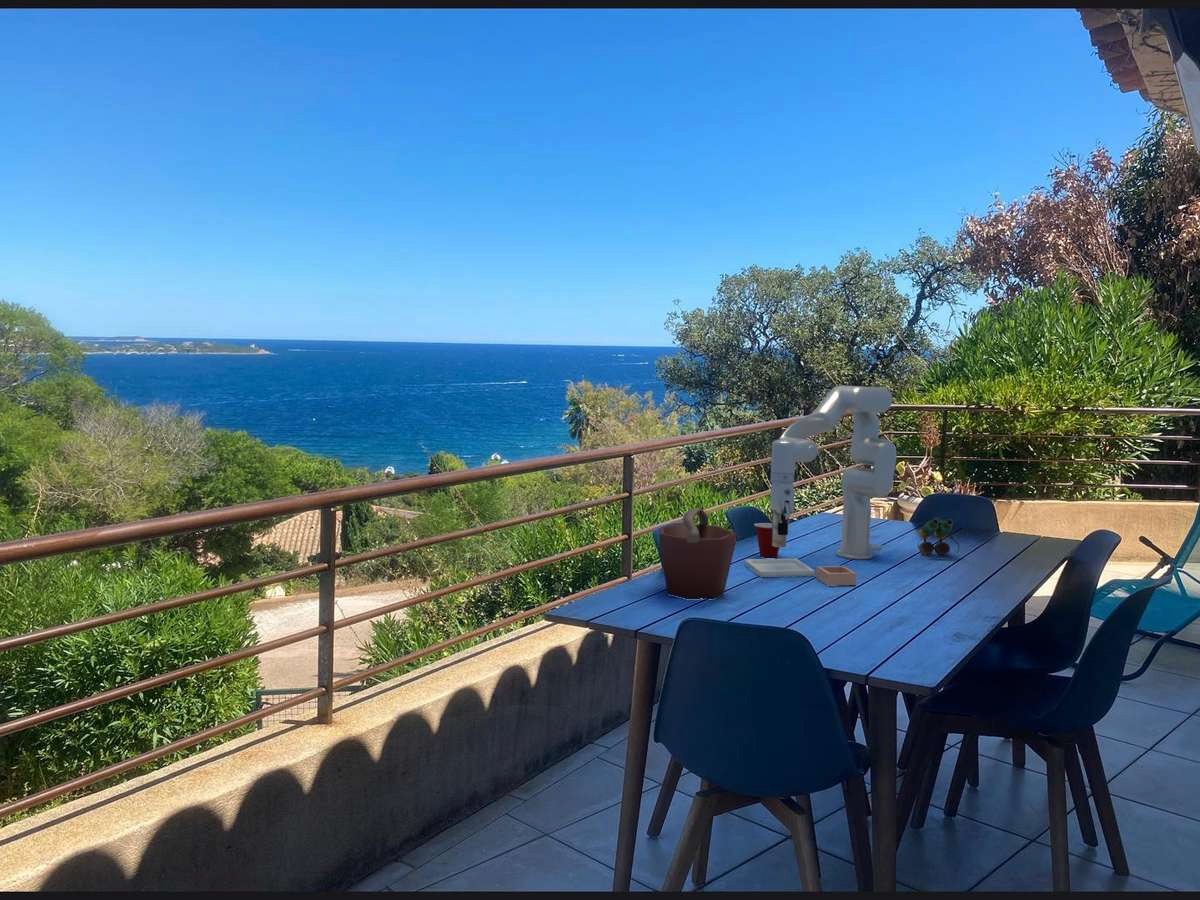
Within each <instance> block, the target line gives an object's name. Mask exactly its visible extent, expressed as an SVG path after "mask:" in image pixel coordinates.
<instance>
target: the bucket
mask: <svg viewBox="0 0 1200 900" xmlns="http://www.w3.org/2000/svg"><path fill="white" fill-rule="evenodd" d="M696 516H697V517H698V521H699V522H698V523H699V524H697V523H695V517H696ZM682 521H683V523H680V524H673V525H672V524H671V525H663V526H660V530H659V548H660V549H659V550H660V556H661V557H660V558H661V562H662V568H663V574H664V580H665V587H666V594H667V595H668V594H670V595H674V596H678V597H682V598H685V599H700V598H703V599H705V598H706V599H714V598H716V597H718V596H720V595H722V594H723V593H724V594H725V590H726V586H727V581H728V577H729V574H730V573H729V572H730V568H731V565H732V561H733V557H734V556H733V555H734V551H735V548H736V544H737V543H736V542H737V541H736V540H737V532H735V531H732V530H730V529H727V528H725V527H723V526H721V525H713V524H712V525H710V524H709V517H708V514H707V513H706V512H705V511H704V509H702V508H689V509H688V510H686V512H685V513H684V514H683V517H682ZM724 594H723V595H724ZM723 595H722V596H723ZM720 597H721V596H720ZM718 598H719V597H718ZM716 599H717V598H716Z"/></svg>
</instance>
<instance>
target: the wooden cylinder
mask: <svg viewBox="0 0 1200 900" xmlns="http://www.w3.org/2000/svg"><path fill="white" fill-rule="evenodd" d="M782 513H785V511H782ZM772 516H773V519H772V522H773V537H772V546H774V547H779V548H785V547H786V546H787V535H778V523H780V522H779V513H777V512H776V510H774V513H772ZM783 516H785V515H782V517H783Z"/></svg>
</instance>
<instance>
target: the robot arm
mask: <svg viewBox="0 0 1200 900" xmlns="http://www.w3.org/2000/svg"><path fill="white" fill-rule="evenodd" d="M892 403H893V396H892V393H891V392H890V391H889V390H888V389H887V388H886V387H885V388H884V387H875V386H874V387H873V386H862V385H861V386H860V385H858V386H857V385H836V386H834V387H832V388H831V389H830V390H829V392H828V393H827V394H826V395H825V397H824V398H823V399H822V401H821V402H820V403H819V405H818V406H817V407H816V408H815V409H814V410H813V412H811V413H810V414H808V415H806V416H804V417H802V418H800V419H799V420H797V421H795V422H794V423H792V424H790V426H788V427H787V428H786V430H785V431H784V432H783V433H782V434H781V436H779V438H778V439H776V440H773V442H772V444H771V459H770V461H771V464H770V465H771V466H770V483H771V488H770V499H769V500H770V501H769V503H770V504H769V505H770V506H769V507H770V509H771V511H772V512H771V513H772V514H773V513H774V510H776V512H777V513H779V522H780V523H778V535H786V536H788V535H789V521H790V520H789V519H790V518H791V515H793V514H794V512H795V489H794V488H795V487H794V484H795V472H796V470H795V469H796V462H801V463H810V462H812V461H814V460H815V459H816V458H817V456H818V454H819V447H818V445H817V443H816V442H814V441H812V440H811V439H806V438H809V437H812V436H816V435H821V434H823V433H826V432H830V431H832V430H833V429H834V428H835V427H836V425H837V424H838V423H839V421H840V420H841V419H842V418H843V416H844V415H845V414H846V413H847V412H850V414H851V415H852V417H853V425H854V426H853V432H852V439H851V445H850V459H851V460H852V461H853V462H855V463H856V464H857V463H858V464H862V465H866V466H867V465H868V466H874V469H871V468H865V467H858V466H856V467H855V466H854V467H853V466H852V467H849V468H847V469H845V470H844V471H843V473H842V476H841V480H840V481H841V489H842V497H843V499H842V500H843V501H842V502H843V503H842V505H843V508H842V523H841V524H842V526H841V545H840V546H841V547H840V548H838V549H837V550H836V552H835V553H836V555H837V556H839V557H841V558H845V559H852V560H869V559H872V558H873V557H874V553H873V552H874V551H878V552H880V551H883V545H881V544H879V545H878V544H877V545H876V544H873V543H870V539H871V538H870V536H871V521H872V520H871V518H872V505H871V501H870V498H877V499H883V498H886V497H887V496H888V495H889V494H890V492H891V489H892V486H893V481H894V475H895V474H894V473H895V470H896V462H897V449H896V446H895V444H894V443H893V442H892V440H889V439H885V438H879V435H880V434H879V433H880V420H879V417H878V416H877V414H878V413H885V412H887V411H888V410H889V409H890V407H891V405H892ZM869 497H870V498H869ZM782 511H785V513H782ZM782 515H785V516H783V517H782ZM771 518H772V520H773V515H772V516H771ZM771 523H772V531H773V521H772V522H771Z"/></svg>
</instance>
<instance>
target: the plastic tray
mask: <svg viewBox="0 0 1200 900" xmlns="http://www.w3.org/2000/svg"><path fill="white" fill-rule="evenodd" d="M745 565H746V566H748V567H749V568H751V569H752V570H753V571H754V572H755V573H757V574H758V575H759V576H760V577H777V576H779V577H780V576H791V577H790V578H802V577H801V576H815V575H816V574H815V573H816V570H814V569H813V567H812V568H811V567H810V566H809V565H807V564H805V563H804V562H802V561H801V560H799V559H798V558H795V557H794V558H777V559H763V558H749V559H744V566H745ZM746 566H745V567H746ZM749 568H748V569H749ZM754 572H753V573H754ZM755 573H754V574H755ZM759 576H758V577H759ZM793 576H794V577H793ZM797 576H799V577H797ZM760 577H759V578H760ZM780 578H781V577H780Z"/></svg>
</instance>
